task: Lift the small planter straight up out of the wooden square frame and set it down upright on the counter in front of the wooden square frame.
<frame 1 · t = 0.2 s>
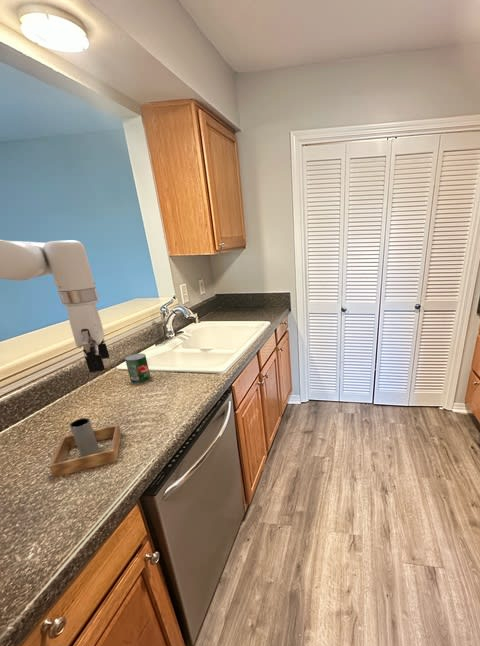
hand: (100, 364, 82), 26 cm above the countertop, tool pointing down, fingers open, 9 cm apart
canned tomato: (141, 380, 139), on the countertop
planter: (90, 454, 92), resting in wooden square frame
wooden square frame: (90, 453, 92), on the countertop
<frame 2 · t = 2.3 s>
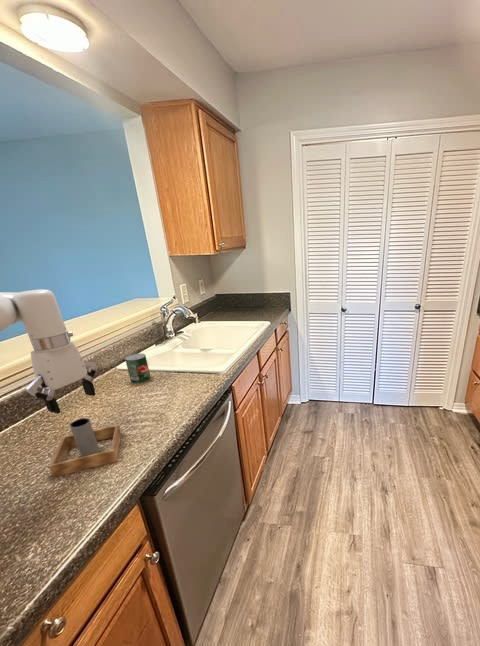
hand: (74, 403, 86), 16 cm above the countertop, tool pointing down, fingers open, 9 cm apart
nothing on the countertop moved.
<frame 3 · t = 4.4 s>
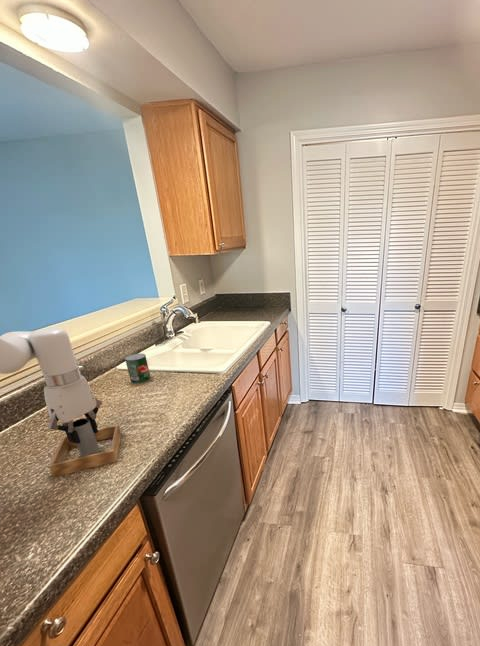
hand: (84, 436, 89), 6 cm above the countertop, tool pointing down, fingers closed on planter, 4 cm apart
planter: (90, 454, 92), resting in wooden square frame, touching gripper
everything else where it was.
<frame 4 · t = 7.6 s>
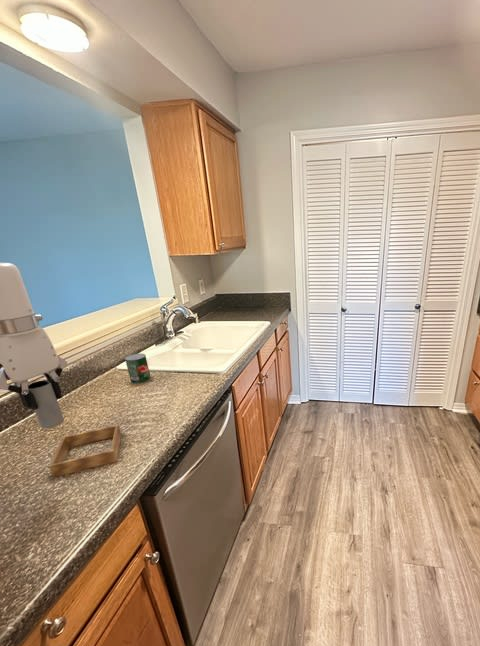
hand: (44, 402, 74), 22 cm above the countertop, tool pointing down, fingers closed on planter, 4 cm apart
planter: (53, 424, 76), point 16 cm above the countertop, touching gripper
everything else where it was.
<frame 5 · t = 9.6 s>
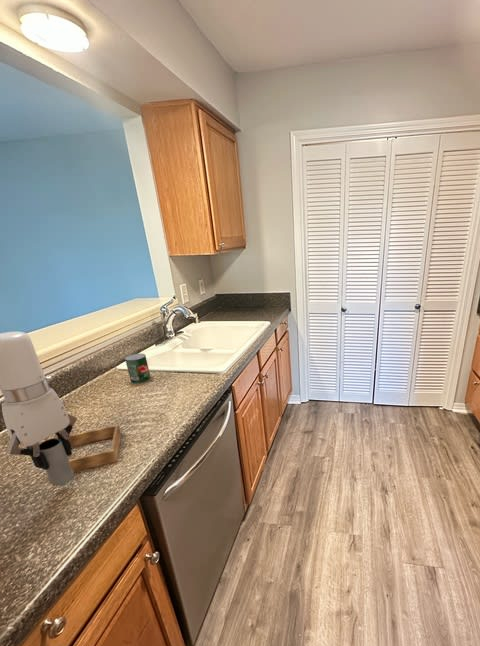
hand: (55, 460, 75), 9 cm above the countertop, tool pointing down, fingers closed on planter, 4 cm apart
planter: (63, 480, 77), point 3 cm above the countertop, touching gripper
everything else where it was.
when the fingers open (6 cm above the countertop, at t = 10.9 s): planter stays where it is, on the countertop.
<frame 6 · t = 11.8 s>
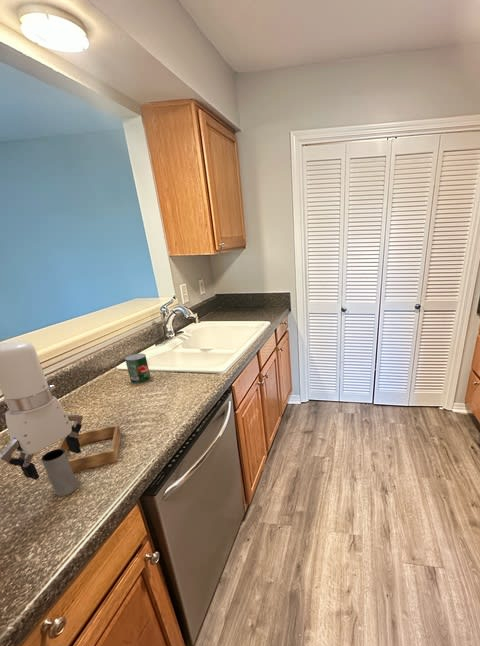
hand: (55, 464, 76), 8 cm above the countertop, tool pointing down, fingers open, 9 cm apart
planter: (67, 490, 79), on the countertop
everything else where it was.
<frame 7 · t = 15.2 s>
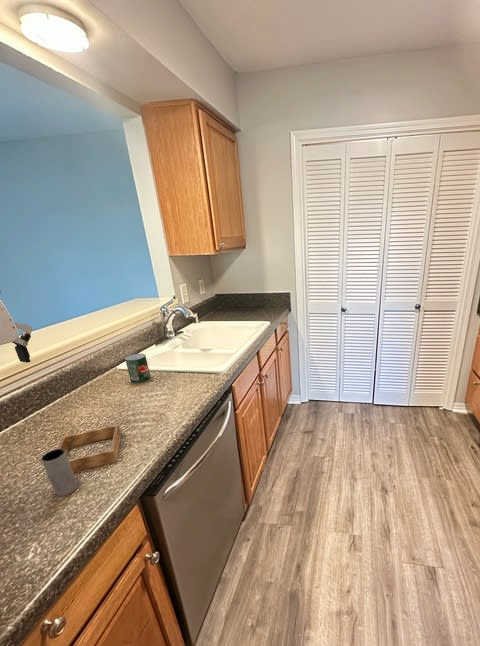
hand: (3, 369, 77), 28 cm above the countertop, tool pointing down, fingers open, 9 cm apart
nothing on the countertop moved.
at the end: planter inside the target area (0.0 cm from its centre), on the countertop; planter tilted 0°; planter touching countertop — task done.
